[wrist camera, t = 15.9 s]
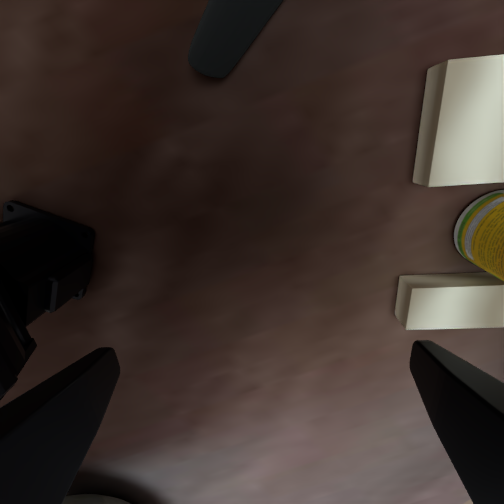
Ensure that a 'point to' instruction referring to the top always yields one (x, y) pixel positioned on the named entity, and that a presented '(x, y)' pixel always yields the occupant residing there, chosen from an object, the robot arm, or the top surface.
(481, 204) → the supplement bottle
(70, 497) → the bowl
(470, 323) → the notched board
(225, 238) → the top surface
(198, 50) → the electric trimmer
